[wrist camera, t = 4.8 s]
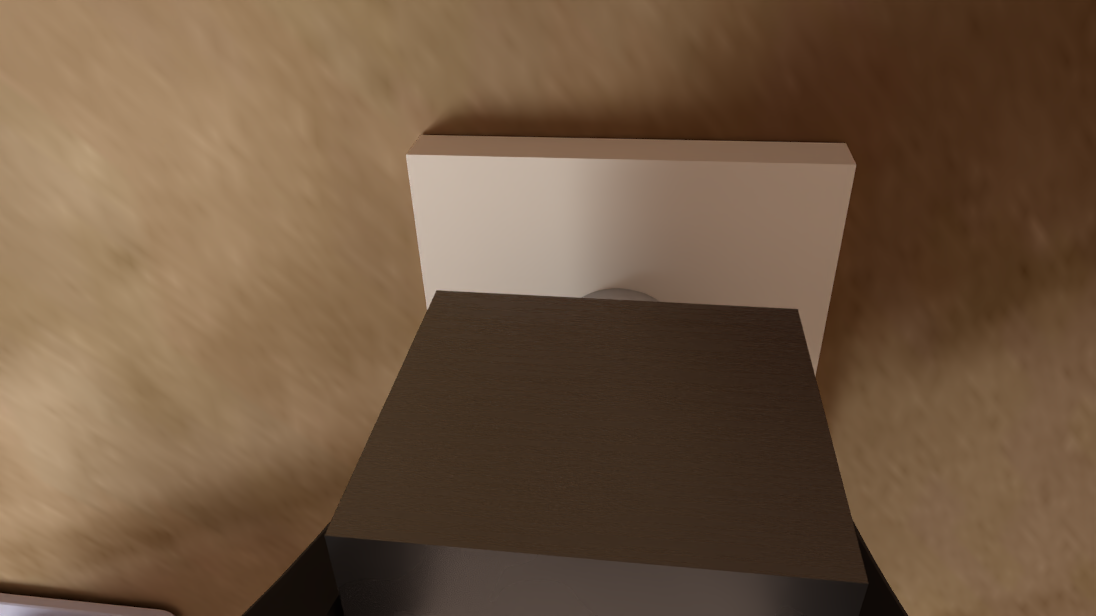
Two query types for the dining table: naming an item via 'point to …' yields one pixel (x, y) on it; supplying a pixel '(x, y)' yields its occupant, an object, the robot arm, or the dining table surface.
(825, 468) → the collar
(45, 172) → the dining table surface
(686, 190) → the post block
